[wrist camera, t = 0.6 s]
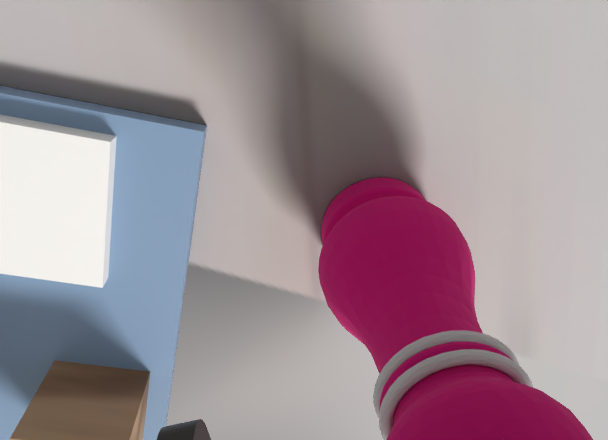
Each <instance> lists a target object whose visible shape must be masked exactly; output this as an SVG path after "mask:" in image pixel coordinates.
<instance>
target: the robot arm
mask: <svg viewBox="0 0 608 440" xmlns="http://www.w3.org/2000/svg"><path fill="white" fill-rule="evenodd" d="M157 440H211V438H210V436H209V433H208V430H207V427H206V425H205V423H204V422H203V420H201V419H200V420H195V421H190V422H185V423H180V424H176V425H171V426H166V427H162V428H161V429H160V431H159V433H158V436H157Z"/></svg>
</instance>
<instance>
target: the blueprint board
mask: <svg viewBox="0 0 608 440" xmlns="http://www.w3.org/2000/svg"><path fill="white" fill-rule="evenodd" d="M206 128H207V125H202V124H197V123H192V122H187V121H181V120H176V119H171V118H166V117H161V116H155V115H150V114H145V113H140V112H135V111H129V110H124V109H119V108H114V107H109V106H103V105H98V104H93V103H88V102H83V101H77V100H72V99H67V98H62V97H57V96H51V95H46V94H41V93H36V92H31V91H26V90H20V89H15V88H10V87H5V86H0V440H10V437H11V435H12V433H13V432H14V430H15V428H16V427H17V425H18V423H19V421H20V420H21V418H22V416H23V414H24V413H25V411H26V409H27V407H28V406H29V404H30V402H31V400H32V399H33V397H34V395H35V393H36V392H37V390H38V388H39V386H40V385H41V383H42V381H43V379H44V378H45V376H46V374H47V372H48V371H49V369H50V367H51V365H52V364H53V362H54V360H55V361H64V362H72V363H81V364H89V365H98V366H106V367H115V368H124V369H132V370H141V371H149V372H150V380H149V389H148V398H147V407H146V416H145V425H144V434H143V439H142V440H157V436H158V433H159V431H160V429H161V428H162V427H166V422H167V415H168V408H169V400H170V392H171V386H172V378H173V371H174V364H175V356H176V349H177V341H178V333H179V327H180V319H181V311H182V305H183V297H184V290H185V283H186V282H185V281H186V275H187V268H188V261H189V253H190V246H191V239H192V231H193V224H194V216H195V209H196V202H197V194H198V187H199V180H200V172H201V165H202V158H203V150H204V143H205V136H206Z"/></svg>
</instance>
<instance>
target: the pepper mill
mask: <svg viewBox="0 0 608 440" xmlns="http://www.w3.org/2000/svg"><path fill="white" fill-rule="evenodd" d="M321 238H322V244H323V247H322V249H321V254H320V258H319V278H320V284H321V287H322V290H323V292H324V295H325V298H326V301H327V304H328V306H329V308H330V309H331V311H332V312H333V314H334V315H335V316H336V318H337V319H338V321H339V322H340V323H341V325H342V326H343V327H345V329H346V330H347V331H348V332H350V333H351V334H352V335H354V336H355V337H356V338H357V339H358V340H360V341H361V342H362V343H363V344H365V345H366V347H367V348H368V350H369V351H370V353H371V354H372V357H373V359H374V361H375V364H376V366H377V369H378V371H379V373H380V374H379V376H378V379H377V382H376V384H375V390H374V395H373V397H374V407H375V411H376V413H377V416H378V418H379V426H380V430H381V434H382V437H383V439H384V440H593V439H592V437H591V436H590V434H589V433H588V432H587V430H586V429H585V427H584V426H583V425H582V424H581V423H580V421H579V420H578V419H577V418H576V417H575V416H574V414H573V413H572V412H571V411H570V410H569V409H567V408H566V407H565V406H563V405H562V404H560V403H559V402H557V401H556V400H554V399H553V398H551V397H550V396H548V395H547V394H545V393H544V392H542V391H540V390H537V389H535V388H533V386H532V382H531V381H530V379H529V377H528V375H527V374H526V373H525V371H524V370H523V369H522V368H521V367H520V366H519V363H518V361H517V359H516V357H515V356H514V354H513V353H512V351H511V350H510V349H509V348H508V347H507V346H506V345H504V344H503V343H502V342H500V341H499V340H497V339H495V338H493V337H491V336H489V335H486V334H483V333H482V330H481V328H480V326H479V324H478V322H477V318H476V313H475V308H474V293H475V271H474V266H473V261H472V256H471V252H470V249H469V247H468V244H467V242H466V240H465V238H464V237H463V235H462V233H461V232H460V230H459V228H458V227H457V225H456V223H455V222H454V221H453V220H452V219H451V218H450V216H449V215H448V214H446V213H445V212H444V211H442V210H441V209H440V208H438V207H436V206H435V205H433V204H431V203H429V202H427V201H426V200H425V199H424V197H423V196H422V195H421V194H420V193H419V191H417V190H416V189H415V188H413V187H412V186H410V185H409V184H407V183H405V182H403V181H400V180H397V179H393V178H370V179H365V180H363V181H360V182H357V183H355V184H352V185H351V186H349V187H347V188H346V189H344V190H343V191H342V192H341V193H339V194H338V195H337V196H336V197H335V198H334V200H333V201H332V202H331V204H330V205H329V206H328V208H327V210H326V212H325V214H324V218H323V221H322V226H321Z"/></svg>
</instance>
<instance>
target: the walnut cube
mask: <svg viewBox="0 0 608 440" xmlns="http://www.w3.org/2000/svg"><path fill="white" fill-rule="evenodd" d="M149 380H150V372H149V371H141V370H132V369H124V368H115V367H106V366H98V365H89V364H81V363H72V362H64V361H55V360H54V362H53V364H52V365H51V367H50V369H49V371H48V372H47V374H46V376H45V378H44V379H43V381H42V383H41V385H40V386H39V388H38V390H37V392H36V393H35V395H34V397H33V399H32V400H31V402H30V404H29V406H28V407H27V409H26V411H25V413H24V414H23V416H22V418H21V420H20V421H19V423H18V425H17V427H16V428H15V430H14V432H13V433H12V435H11V437H10V440H142V439H143V434H144V425H145V416H146V407H147V398H148V389H149Z"/></svg>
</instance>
